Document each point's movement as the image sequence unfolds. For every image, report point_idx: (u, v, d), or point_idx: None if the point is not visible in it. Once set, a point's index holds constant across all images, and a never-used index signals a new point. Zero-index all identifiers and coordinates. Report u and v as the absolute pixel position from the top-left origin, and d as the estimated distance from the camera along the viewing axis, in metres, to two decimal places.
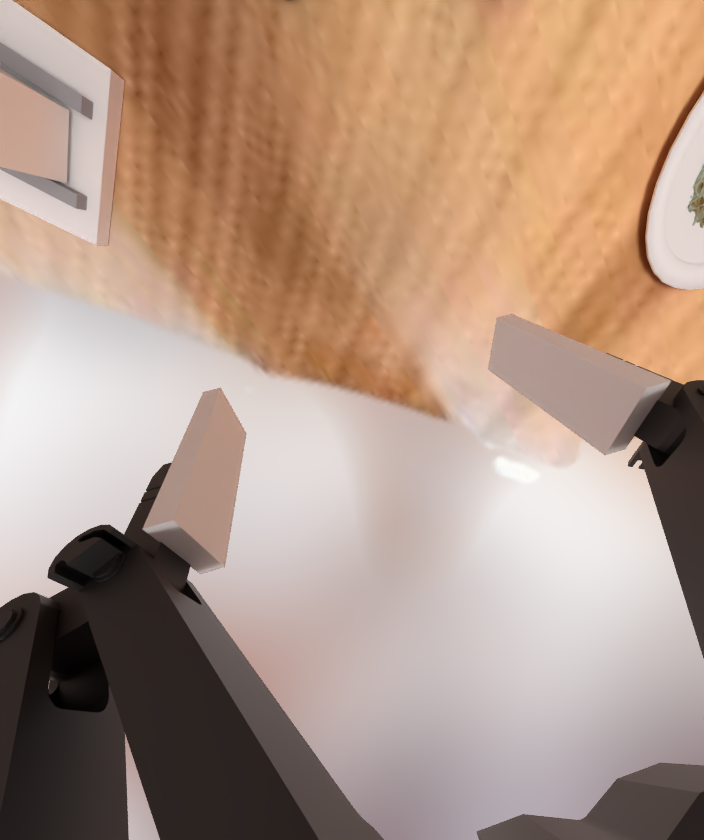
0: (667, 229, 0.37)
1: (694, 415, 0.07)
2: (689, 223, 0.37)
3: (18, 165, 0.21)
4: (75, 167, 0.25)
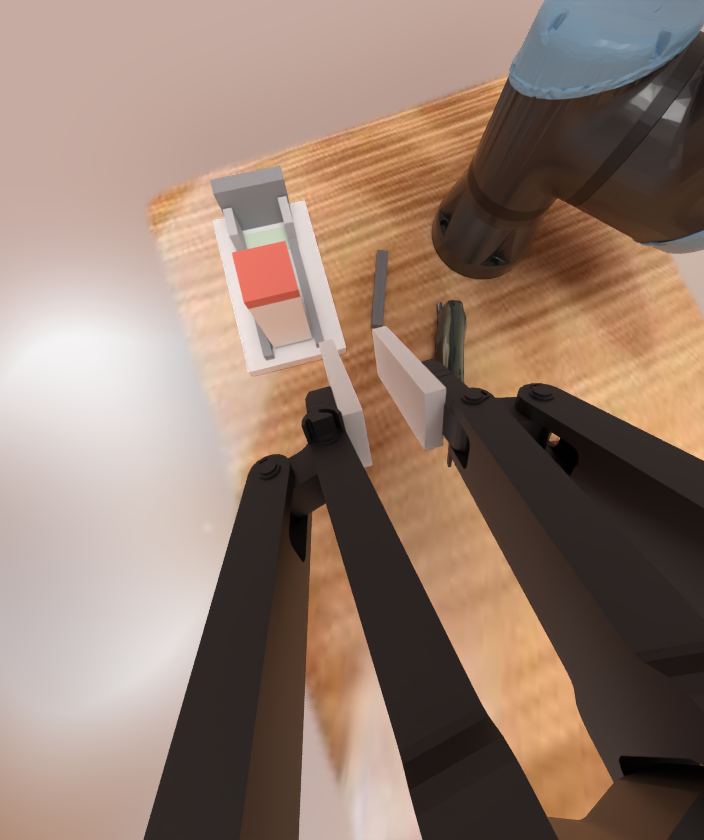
0: None
1: (467, 424, 0.08)
2: None
3: (266, 330, 0.32)
4: (286, 348, 0.37)
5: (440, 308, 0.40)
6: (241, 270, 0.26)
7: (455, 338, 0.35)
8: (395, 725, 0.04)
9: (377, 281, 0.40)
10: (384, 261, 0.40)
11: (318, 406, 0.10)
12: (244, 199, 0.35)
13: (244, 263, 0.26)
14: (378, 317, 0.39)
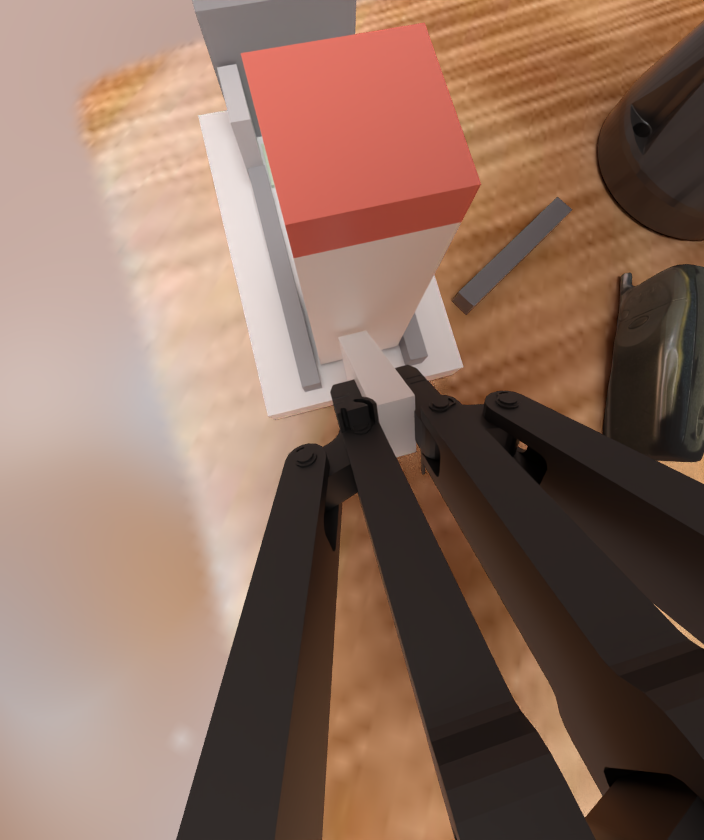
0: None
1: (436, 432, 0.08)
2: None
3: (320, 329, 0.13)
4: (344, 368, 0.19)
5: (629, 284, 0.21)
6: (275, 112, 0.07)
7: (699, 340, 0.17)
8: (424, 705, 0.04)
9: (519, 239, 0.21)
10: (554, 220, 0.21)
11: (344, 398, 0.11)
12: (265, 43, 0.16)
13: (286, 90, 0.07)
14: (478, 290, 0.20)
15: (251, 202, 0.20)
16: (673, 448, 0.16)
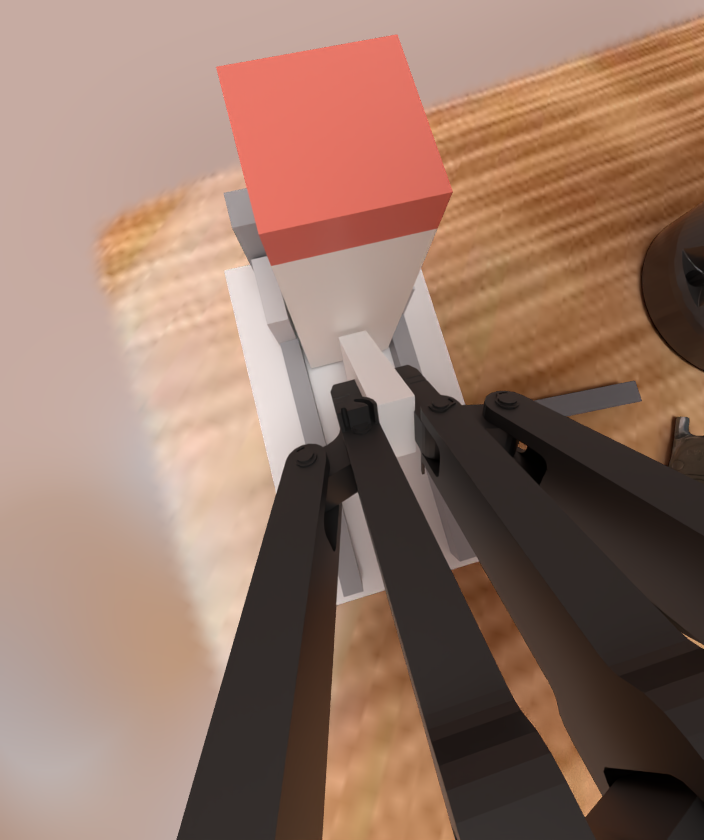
0: None
1: (436, 433, 0.08)
2: None
3: (306, 334, 0.13)
4: None
5: (686, 430, 0.20)
6: (249, 124, 0.07)
7: None
8: (424, 705, 0.04)
9: (572, 397, 0.20)
10: (617, 400, 0.20)
11: (344, 398, 0.11)
12: None
13: (260, 102, 0.07)
14: None
15: (282, 367, 0.19)
16: None
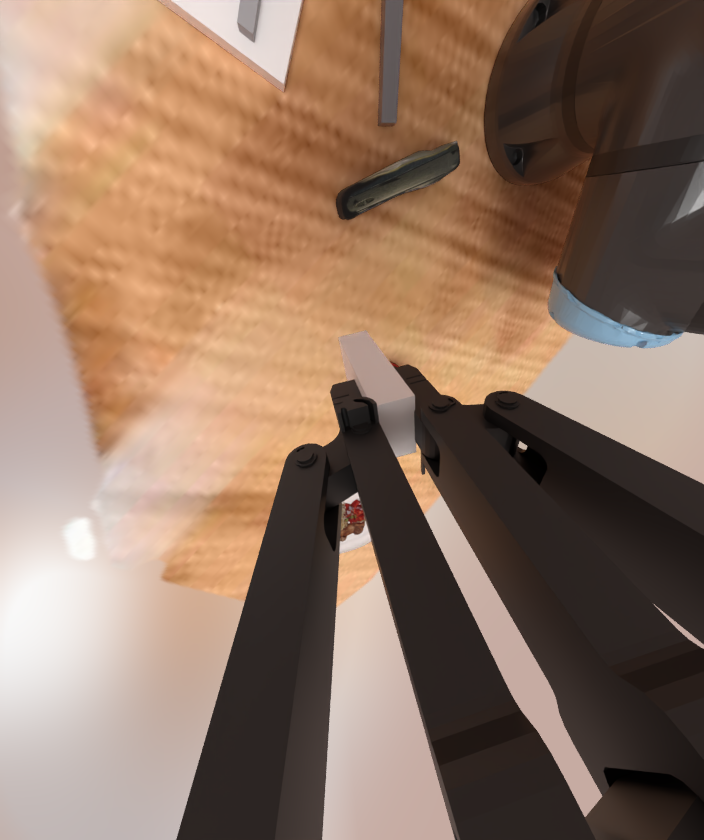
0: None
1: (436, 432, 0.08)
2: None
3: None
4: None
5: None
6: None
7: (409, 174, 0.27)
8: (424, 705, 0.04)
9: (397, 40, 0.24)
10: (386, 95, 0.26)
11: (344, 398, 0.11)
12: None
13: None
14: None
15: None
16: (344, 196, 0.28)
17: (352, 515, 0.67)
